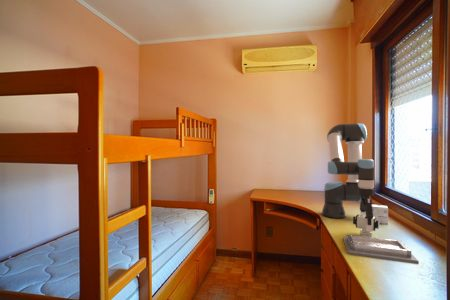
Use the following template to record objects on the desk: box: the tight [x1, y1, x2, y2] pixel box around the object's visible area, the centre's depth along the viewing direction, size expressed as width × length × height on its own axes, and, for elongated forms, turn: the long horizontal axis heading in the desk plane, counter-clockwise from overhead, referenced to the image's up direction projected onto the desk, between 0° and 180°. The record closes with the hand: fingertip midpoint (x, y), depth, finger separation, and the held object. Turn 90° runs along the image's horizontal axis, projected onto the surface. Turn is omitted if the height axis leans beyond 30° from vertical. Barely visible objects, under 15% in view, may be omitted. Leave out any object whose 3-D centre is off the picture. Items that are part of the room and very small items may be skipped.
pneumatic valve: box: [352, 214, 380, 238], centre depth 127 cm, size 6×12×12 cm, turn 51°
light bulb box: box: [372, 204, 389, 225], centre depth 153 cm, size 11×7×11 cm, turn 59°
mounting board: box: [342, 236, 420, 264], centre depth 111 cm, size 19×26×1 cm
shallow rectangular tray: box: [346, 234, 412, 257], centre depth 111 cm, size 12×23×2 cm, turn 70°
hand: (366, 227), depth 127 cm, fingers open, 13 cm apart
